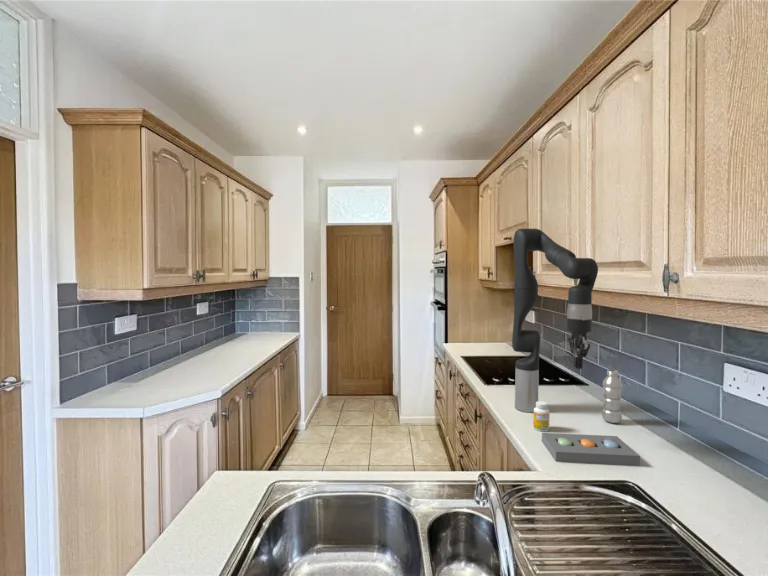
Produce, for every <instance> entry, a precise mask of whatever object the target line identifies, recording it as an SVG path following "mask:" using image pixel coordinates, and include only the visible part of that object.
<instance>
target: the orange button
mask: <svg viewBox="0 0 768 576" xmlns="http://www.w3.org/2000/svg"><path fill="white" fill-rule="evenodd" d="M581 445H582V446H584V447H595V442H594V441H592V440H590V439H581Z"/></svg>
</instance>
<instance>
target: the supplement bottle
mask: <svg viewBox="0 0 768 576" xmlns="http://www.w3.org/2000/svg"><path fill="white" fill-rule="evenodd" d="M548 407H549V405H548V402H546V401H542V400H538V401H537V402H536V407H535V408H534V412H533V424H532V425H533V429H534V430H535V431H538V432H542V433H546V432H548V431H549V430H550V409H549V408H548Z"/></svg>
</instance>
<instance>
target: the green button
mask: <svg viewBox="0 0 768 576" xmlns="http://www.w3.org/2000/svg"><path fill="white" fill-rule="evenodd" d="M558 444H559V445H564V446H572V441H571V440H570V439H567V438H558Z"/></svg>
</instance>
